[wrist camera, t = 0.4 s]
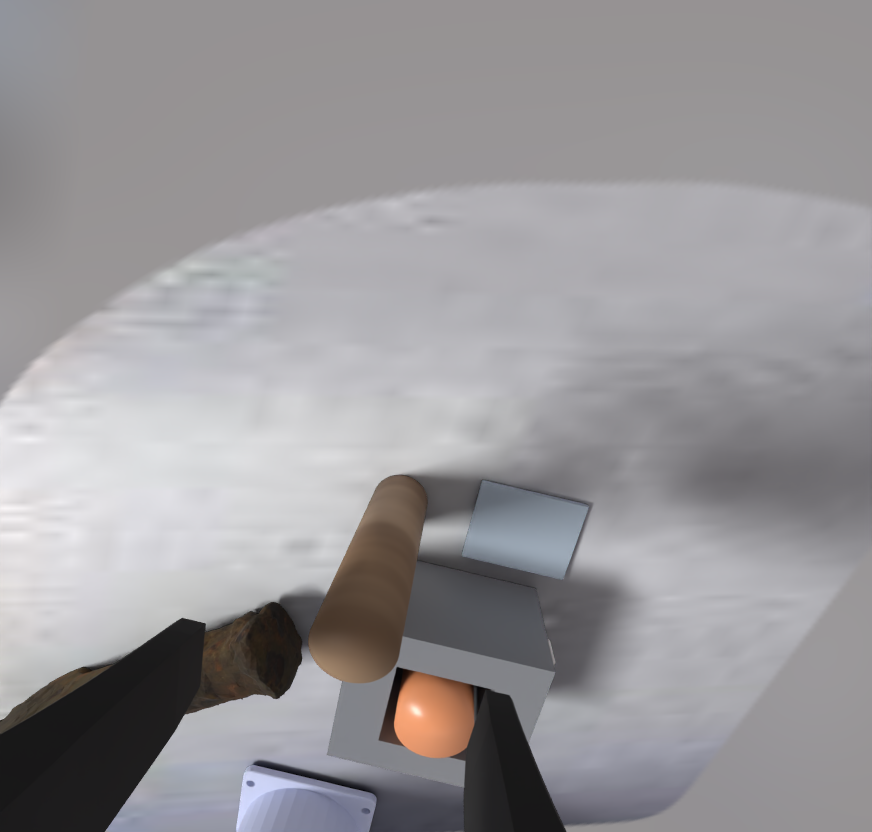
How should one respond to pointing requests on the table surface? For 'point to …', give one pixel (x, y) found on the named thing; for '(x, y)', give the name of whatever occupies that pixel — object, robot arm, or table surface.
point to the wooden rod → (372, 587)
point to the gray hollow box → (450, 666)
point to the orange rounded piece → (434, 714)
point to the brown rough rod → (212, 665)
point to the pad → (524, 529)
